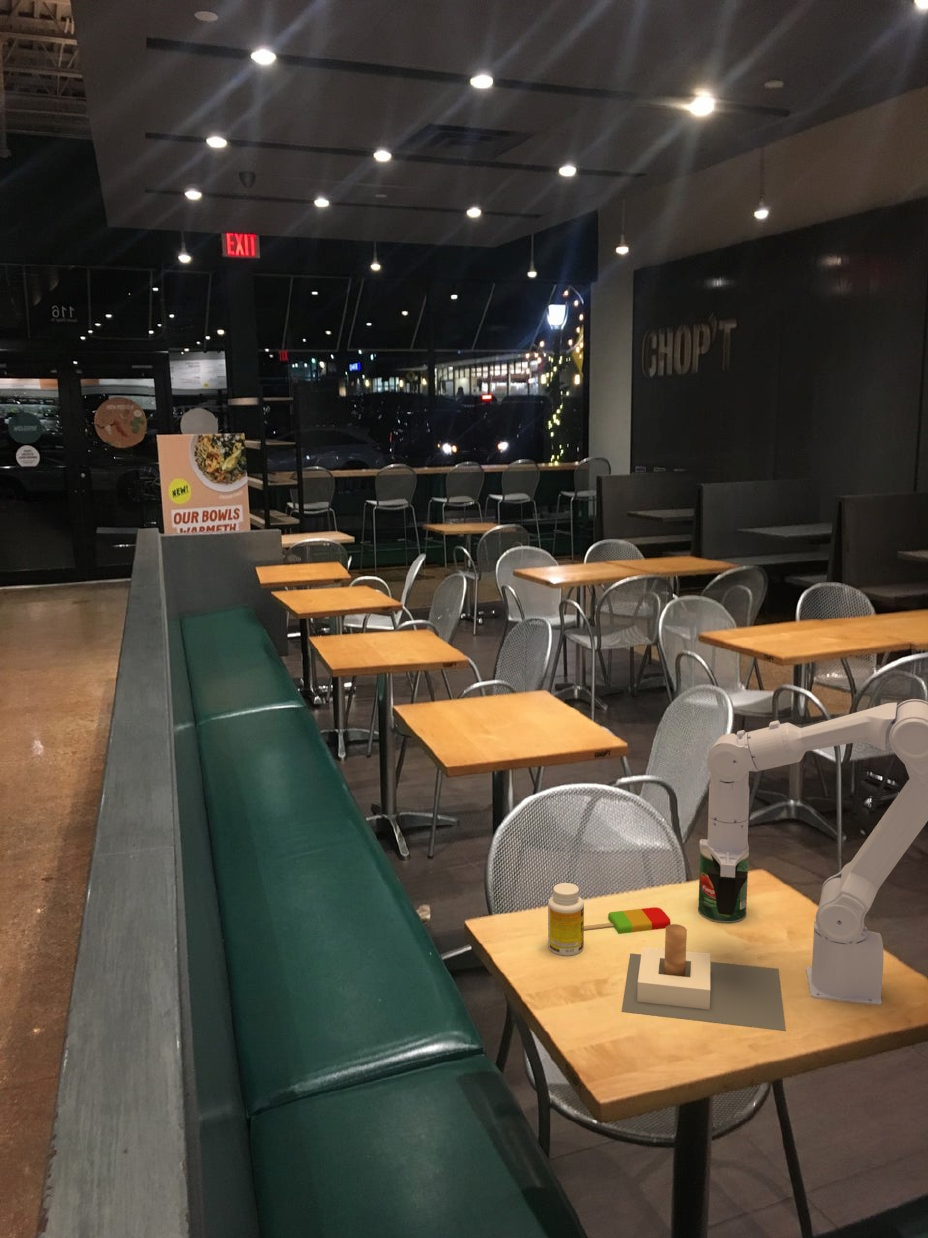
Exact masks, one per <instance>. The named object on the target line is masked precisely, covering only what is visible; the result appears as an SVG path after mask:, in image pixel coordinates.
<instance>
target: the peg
mask: <svg viewBox="0 0 928 1238" xmlns="http://www.w3.org/2000/svg"><path fill="white" fill-rule="evenodd" d="M664 931H665V936H664V937H665V938H664V949H665V964H664V975H672V976H681V977H685V969H686V951H687V936H688V934H687V933H688V929H687V928H686V927H685V926H684V925H681V924H677V923H676V924H675V923H673V924H671V923H670V925H668V926H666V928H665V930H664Z"/></svg>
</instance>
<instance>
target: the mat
mask: <svg viewBox="0 0 928 1238" xmlns="http://www.w3.org/2000/svg"><path fill="white" fill-rule="evenodd" d="M628 960H629V961H628V966H627V972H626V979H625V986H624V992H623V998H622V999H623V1000H622V1005H621V1006H622V1007H621V1013H628V1014H634V1015H635V1014H636V1015H645V1016H652V1017H662V1018H671V1019H677V1020H687V1021H697V1022H705V1023H713V1024H722V1025H728V1026H729V1025H730V1026H738V1027H739V1026H740V1027H746V1028H747V1027H748V1028H753V1029H754V1028H755V1029H763V1030H773V1031H782V1032H787V1028H786V1022H785V1021H786V1020H785V1012H784V1004H783V997H782V996H783V995H782V986H781V981H780V980H781V979H780V970H779V968H775V967H767V966H765V967H764V966H758V965H757V966H755V965H747V964H746V965H745V964H739V963H737V964H736V963H727V962H720V961H719V962H718V961H710V1010H708V1009H700V1008H691V1007H682V1006H673V1005H665V1004H656V1003H647V1002H638V1001H637V995H638V976H639V968H640V961H641V954H639V953H629V959H628Z"/></svg>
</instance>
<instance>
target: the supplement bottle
mask: <svg viewBox="0 0 928 1238" xmlns="http://www.w3.org/2000/svg"><path fill="white" fill-rule="evenodd" d="M579 889H580V888H579V887H578V886H577V885H576V884H574V883H570V882H561V883H558V884H556V885H554V887H553V889H552V890H553V894H552V896H550V898H549V899H548V903H547V913H548V914H547V919H548V920H547V921H548V922H547V926H548V927H547V931H548V933H547V935H548V936H547V937H548V940H547V943H548V944H547V945H548V948H549V950H550V951H551V953H553V954H556V955H559V956H563V957H564V956H567V957H569V956H576V955H578V954H579V953H581V952H582V951H583V949H584V945H585V944H584V943H585V942H584V941H585V940H584V939H585V937H584V936H585V935H584V934H585V933H584V931H585V930H584V926H585V924H584V923H585V920H584V919H585V903H584V900H583V899H582V898H581V897H580V890H579Z"/></svg>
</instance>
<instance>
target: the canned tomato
mask: <svg viewBox="0 0 928 1238" xmlns="http://www.w3.org/2000/svg"><path fill="white" fill-rule="evenodd" d="M749 855H750V852H749V851H748V853H747V854H746V855H745V856H744V857H743V858H742V859H741V861H740V862H739V865H738V868H737V871H745V872H747V874H748V873H749V857H750V856H749ZM707 866H713V867H714V863H713V859H712V856H711V854H710V852H709V851H708V850H707V849H701V848H700V847H699V873H698V874H699V880H698V908H697V911H698V914H699V915H700V916H701V917H702V918H704V919H706V920H708V921H711V922H713V923H719V924H736V923H739V922H742V921H743V920H744V919H745V918H746V917H747V904H748V902H747V900H748V899H747V898H748V880H749V879H748V878H749V876H748V877H747V880H746V882H745V883H744V884H743V886H742V888H741V890H740V892H739V895H738V899H737V903H736V907H735V911H734V913H733V915H726V914H719V913H718V909H717V904H716V897H715V892H714V888H713V885H712V883H711V881H710V879H709V877H708V874H707ZM748 875H749V874H748Z"/></svg>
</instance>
